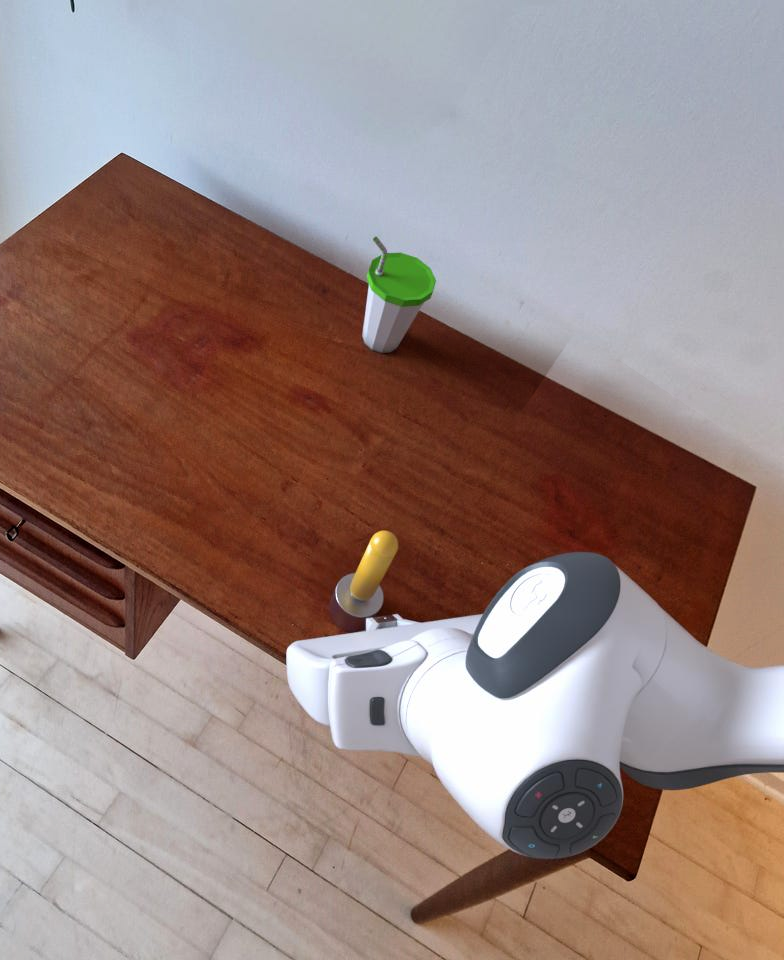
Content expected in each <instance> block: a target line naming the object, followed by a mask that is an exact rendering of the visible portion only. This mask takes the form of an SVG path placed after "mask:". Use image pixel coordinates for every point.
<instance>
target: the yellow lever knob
mask: <svg viewBox="0 0 784 960" xmlns="http://www.w3.org/2000/svg"><path fill="white" fill-rule="evenodd" d="M398 550H399V540H398V538H397V536H396V535H395V534H394V533H393V532H392V531H389V530H379V531H377V532H376V533H374V534H373V535H372V537H371V538H370V540H369V543H368V545H367V546H366V549H365V551H364V553H363V555H362V557H361V560H360V563H359V565H358V567H357V569H356V571H355V572H352V573H349V574H347V575H345V576H343V577H342V578H341V579H340V580H339V581H338V583H337V585H336V587H335V588H334V591H333V594H332V596H331V597H330V601H329V604H328V613H329V616H330V618H331V620H332V622H333V623H334V624H335V625H336V627H338V628H340V629H342V630H343V631H345V632H349V633H356V632H362V631H366V619H367V618H374V617H378V616H377V615H378V614H379V612H380V610H381V608H382V607H383V604H384V597H385V596H384V592H383V589H382V587H381V583H382V581H383V579H384V577H385V575H386V574H387V572H388V569H389V568H390V566H391V564H392V562H393V560H394V559H395V556H396V554H397V553H398Z"/></svg>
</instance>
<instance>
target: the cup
mask: <svg viewBox="0 0 784 960" xmlns="http://www.w3.org/2000/svg"><path fill="white" fill-rule="evenodd" d="M372 241H373V242H374V244H375V245H376V246H377V247H378V248H379V250H380V251H381V254H380V255H378V256H377V257H375V258H373V259H372V260H371V263H370V265H369V268H368V270H367V273H366V280H367V283H368V289H367V297H366V302H365V303H366V305H365V312H364V313H365V314H364V320H363V327H362V336H361V337H362V340H363V343H364V345H365V346H367V347H368V349H370V350H371V351H373V352H377V353H380V354H386V353H387V354H389V353H392V352H393V351H395V350H396V349H398V347H399V345H400V344H401V342H402V340H403V339H404V337H405V335H406V333H407V332H408V331H409V329H410V327H411V325H412V324H413V322H414V321H415V319H416V317H417V315H418V313H419V312H420V310H421V309H422V307H423V306H424V303H425V302H427V301H429V300H430V299H431V298H432V296H433V293H434V290H435V286H436V283H437V280H436V277H435V275H434V273H433V270H432V269H431V268H430V267H429V266H428V265H427V264H426V263H424V262H423V261H422V260H421V259H420V258H418V257H416V256H413V255H409V254H407V253H403V252H388V249H387V247H386V246H385V245H384V243H382V241H381V240H380V238H379V237H378V236H374V237H373V238H372Z"/></svg>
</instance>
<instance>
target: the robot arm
mask: <svg viewBox="0 0 784 960" xmlns="http://www.w3.org/2000/svg"><path fill="white" fill-rule="evenodd" d="M285 655H286V657H285V658H286V660H285V661H286V664H285V665H286V676H287V683H288V687H289V689H290V691H291V692H292V694H293V696H294V698H295V699H296V700H297V702H298V703H299V704H300V706H301V707H302V708H303V710H304V711H305V712H306V713H307V714H308V715H309V716H310V718H312V719H313V720H314V721H316V722H317V723H318V724H320V725H323V726H326V727H330V733H331V738H332V742H333V744H334V745H335V747H336V748H338V749H340V750H342V751H349V752H350V751H351V752H352V751H353V752H363V751H364V752H386V753H395V754H402V755H408V756H413V757H419V758H420V757H422V758H423V759H424V761H426V762H427V763H428V764H430V765H432V766H433V769H434V771H435V773H436V776H437V778H438V779H439V782H440V783H441V784H442V786H443V787H444V789H446V791H447V792H448V793H449V794H450V796H451V797H452V798H453V800H455V802H456V803H457V804H458V806H459V807H460V808H461V809H462V810H463V811H464V812H465V813H466V814H467V815H468V816H469V817H470V818H471V820H472V821H474V823H475V824H476V825H477V826H478V827H479V828H480V829H482V830H483V831H484V832H485V833H486V834H487V835H488V836H490V838H492V839H493V840H494V841H496V842H497V843H498V844H500V846H503V847H504V848H506V849H508V850H510V851H512V852H513V853H516V854H518V855H522V856H524V857H526V858H532V859H536V860H537V859H538V860H559V859H564V858H569V857H573V856H575V855H579V854H581V853H583V852H585V851H587V850H589V849H590V848H593V847H594V846H596V845H597V844H598V843H599V842H600V841H602V840H603V839H604V838H605V837H606V836H607V835H608V834H609V833H610V831H611V830H612V829H613V828H614V826H615V824H616V823H617V821H618V819H619V817H620V816H621V815H620V814H621V812H622V809H623V805H624V803H623V802H624V787H623V782H622V776H621V770H622V772H624V773H625V775H627V776H628V777H630V778H631V779H632V780H634V781H635V782H637V783H638V784H641V785H643V786H646V787H648V788H652V789H656V790H661V791H682V790H689V789H694V788H698V787H699V788H700V787H702V786H706V785H711V784H713V783H716V782H721V781H724V780H727V779H728V780H729V779H732V778H736V777H740V776H746V775H752V774H753V775H754V774H764V773H765V774H766V773H767V774H768V773H769V774H770V773H772V774H773V773H778V774H780V773H781V774H783V773H784V664H781V665H779V664H778V665H771V666H761V667H752V666H746V665H743V664H739V663H737V662H734V661H733V660H730V659H728V658H726V657H724V656H722V655H721V654H718V653H717V652H716V651H713V650H712V649H710V648H709V647H707V646H706V645H704V644H703V643H702V642H700V641H698V640H697V639H696V638H695V637H694V636H693V635H692V634H691V633H689V632H688V631H687V630H686V629H685V628H684V627H683V626H682V625H681V624H680V623H679V622H678V621H676V620H675V618H673V617H672V615H670V614H669V613H668V612H667V611H666V610H664V609H663V608H662V607H661V606H660V605H659V603H658V602H657V601H656V600H655V599H654V598H653V597H651V596H650V594H648V593H647V592H646V591H645V590H644V589H643V588H642V587H641V586H639V585H638V584H637V583H636V582H635V581H634V580H632V579H631V578H630V576H628V575H627V574H626V573H625V572H624V571H623V570H622V569H620V568H619V567H618V566H617V565H616V564H615V563H614V562H613V561H612V560H611V559H609V558H608V557H607V556H604V555H602V554H600V553H596V552H590V551H589V552H588V551H572V552H565V553H560V554H556V555H551V556H549V557H546V558H544V559H540V560H538V561H536V562H534V563H532V564H530V565H528V566H526V567H524V568H522V569H520V570H519V571H518V572H517V573H515V574H514V575H513V576H512V577H511V578H510V579H508V581H506V582H505V584H504V585H503V586H502V587H501V588H500V589H499V590H498V591H497V593H496V594H495V596H493V598H492V600H491V601H490V602H489V604H488V605H487V607H486V608H485V610H484V611H483V613H481V614H472V615H467V616H459V617H452V618H445V619H439V620H433V621H431V620H430V621H424V622H419V621H414V620H409V619H405V618H403V617H402V616H401V615H399V613H395V614H394V613H393V614H387V615H381V616H376V617H374V618H367V619H366V629H365V630H363V631H360V632H349V633H344V634H343V633H341V634H335V635H329V636H322V637H316V638H309V639H301V640H295V641H294V642H291V644H289V646H288V647H287V649H286V654H285ZM620 769H621V770H620Z"/></svg>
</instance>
